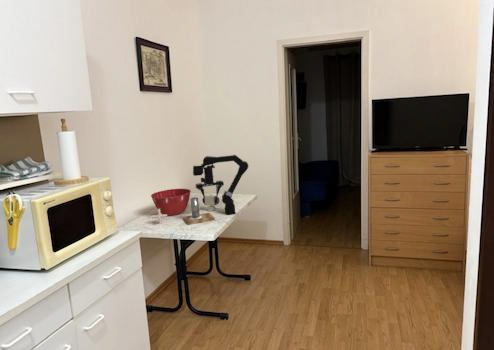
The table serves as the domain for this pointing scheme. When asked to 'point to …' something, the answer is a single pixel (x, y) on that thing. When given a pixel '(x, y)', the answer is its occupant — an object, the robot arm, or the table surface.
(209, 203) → the pneumatic valve
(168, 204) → the mixing bowl
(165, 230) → the table surface
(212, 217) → the mounting plate
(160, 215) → the pipe connector
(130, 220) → the table surface
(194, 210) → the steel hub
